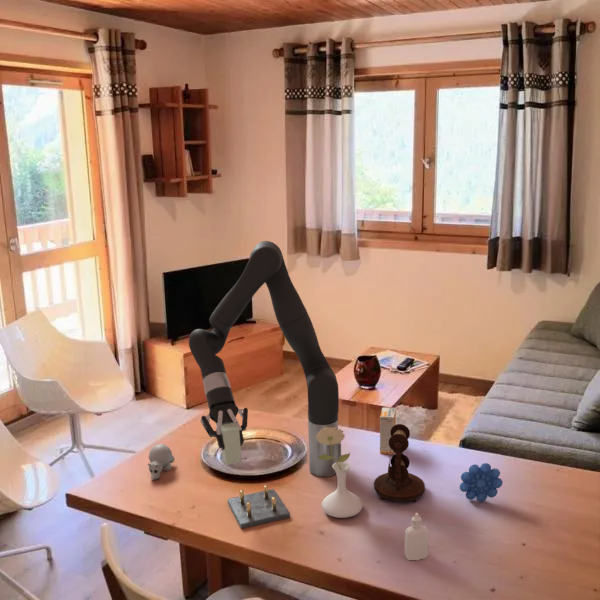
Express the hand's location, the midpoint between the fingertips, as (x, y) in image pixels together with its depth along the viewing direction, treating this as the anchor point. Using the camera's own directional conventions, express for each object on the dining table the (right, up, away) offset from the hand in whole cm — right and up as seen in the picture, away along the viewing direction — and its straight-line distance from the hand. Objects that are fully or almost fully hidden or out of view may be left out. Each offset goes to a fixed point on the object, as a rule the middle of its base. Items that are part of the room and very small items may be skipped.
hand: (232, 446), depth 188 cm
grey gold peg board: (+7, -19, +4) cm, 20 cm away
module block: (0, -4, +2) cm, 5 cm away
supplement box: (+48, -9, +38) cm, 62 cm away
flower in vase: (+30, -19, +3) cm, 35 cm away
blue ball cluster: (+70, -17, +6) cm, 72 cm away
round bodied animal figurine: (-26, -14, +27) cm, 40 cm away
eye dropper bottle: (+48, -23, -19) cm, 56 cm away
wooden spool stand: (+48, -16, +11) cm, 52 cm away
